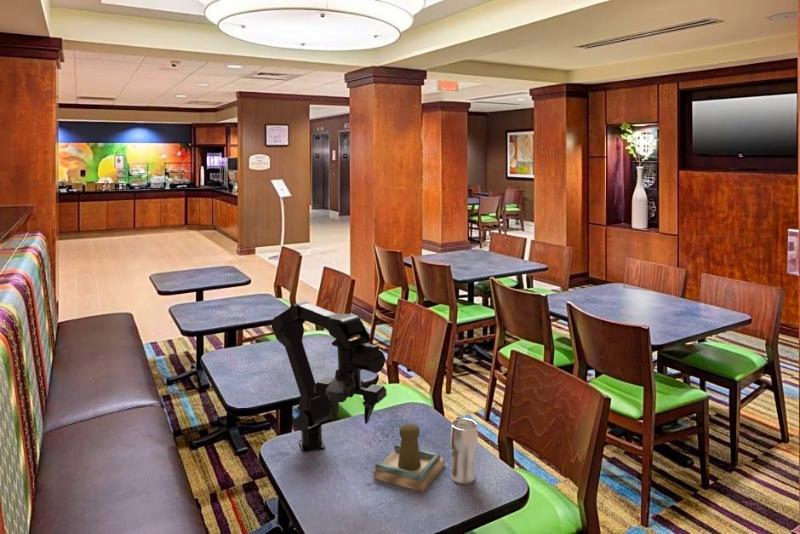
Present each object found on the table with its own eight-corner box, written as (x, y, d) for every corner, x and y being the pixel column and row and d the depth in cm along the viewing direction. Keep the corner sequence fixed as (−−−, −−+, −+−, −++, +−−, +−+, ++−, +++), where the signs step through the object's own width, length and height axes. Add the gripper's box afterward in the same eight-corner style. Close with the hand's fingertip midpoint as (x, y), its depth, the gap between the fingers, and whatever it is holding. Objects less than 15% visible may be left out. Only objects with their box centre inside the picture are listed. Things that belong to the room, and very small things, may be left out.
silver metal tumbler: (461, 467, 159) (462, 415, 156) (482, 477, 154) (483, 424, 151) (443, 477, 154) (444, 423, 151) (464, 488, 149) (466, 433, 146)
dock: (373, 478, 153) (373, 465, 153) (397, 453, 166) (397, 441, 165) (423, 492, 147) (423, 479, 147) (444, 465, 160) (444, 453, 159)
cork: (424, 468, 154) (424, 429, 152) (402, 472, 152) (402, 433, 150) (415, 457, 160) (416, 419, 158) (394, 461, 158) (394, 422, 156)
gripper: (301, 369, 151) (304, 427, 154) (366, 379, 143) (368, 440, 146) (324, 356, 161) (327, 410, 164) (386, 364, 153) (388, 421, 156)
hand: (351, 420), depth 157 cm, fingers open, 9 cm apart
